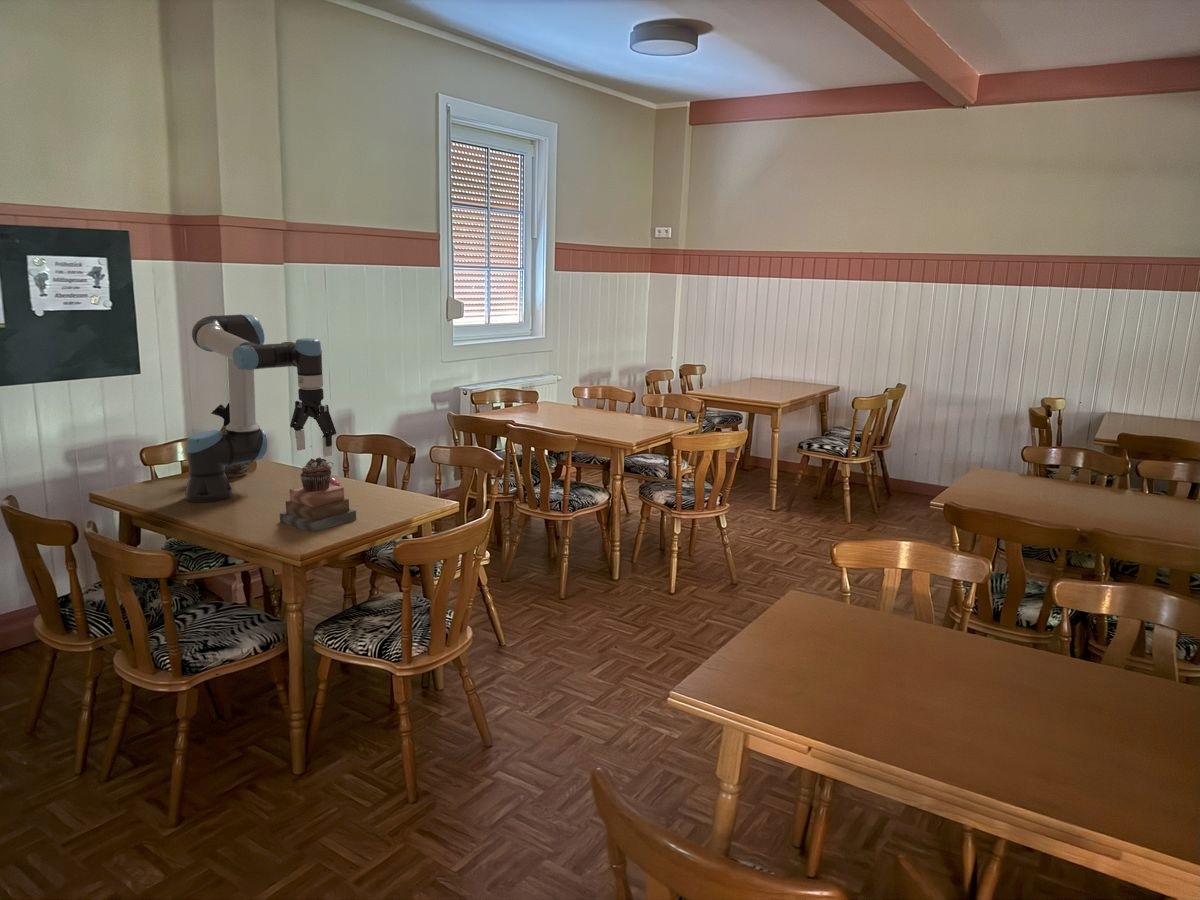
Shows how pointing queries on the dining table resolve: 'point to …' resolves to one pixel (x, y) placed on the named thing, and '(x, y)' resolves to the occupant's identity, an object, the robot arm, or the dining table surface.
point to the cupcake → (316, 475)
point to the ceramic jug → (225, 414)
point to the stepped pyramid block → (317, 508)
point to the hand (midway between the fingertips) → (314, 453)
